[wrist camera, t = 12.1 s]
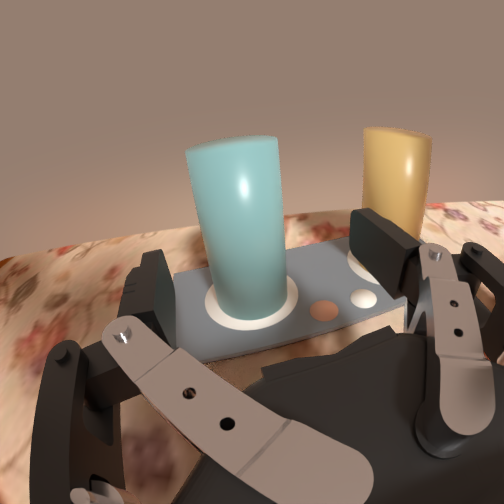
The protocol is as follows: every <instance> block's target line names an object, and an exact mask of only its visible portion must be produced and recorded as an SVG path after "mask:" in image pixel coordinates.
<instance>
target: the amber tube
mask: <svg viewBox="0 0 504 504" xmlns="http://www.w3.org/2000/svg"><path fill="white" fill-rule="evenodd" d="M431 149H432V137H431V136H429V135H426V134H423V133H420V132H416V131H411V130H406V129H400V128H391V127H366V128H364V170H363V172H364V173H363V196H362V197H363V198H362V208H370V209H372V210H373V211H375V212H376V213H378V214H379V215H380V216H382V217H383V218H386V219H388V220H391V221H392V222H393V223H395V224H396V225H397V226H398V227H400V228H401V229H403V230H404V232H407V233H408V234H409V235H411V236H412V237H413V238H415V239H416V240H417V241H419V238H420V234H421V228H422V223H423V217H424V211H425V205H426V197H427V191H428V182H429V173H430V163H431ZM358 263H359V264H360V266H361V267H362V268H363V269H364V270H365V271H367V270H366V269H365V267H364V266H363V265H362V264H361V263H360V262H359V261H358ZM367 272H368V271H367ZM368 273H369V272H368Z"/></svg>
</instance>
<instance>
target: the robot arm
mask: <svg viewBox="0 0 504 504" xmlns="http://www.w3.org/2000/svg"><path fill="white" fill-rule="evenodd" d="M349 247H350V251H351V253H352V255H353V256H354V257H355V258H356V259H357V260H358V261H359V262H360V263H361V264H362V265H363V266H364V267H365V269H366V270H367V271H368V272H369V273H370V274H371V275H372V276H373V277H374V278H375V279H376V280H377V282H378V283H379V284H380V285H381V286H382V287H383V288H384V289H385V290H386V292H387V293H388V294H389V295H390V296H391V297H392V298H393V299H394V300H396V299H398V298H401V297H403V296H405V297H406V301H405V304H404V333H397V334H396V333H395V332H394V331H393V329H392V328H391V327H390V325H389V326H386V327H384V328H382V329H379V330H377V331H374V332H372V333H369V334H366V335H364V336H362V337H360V338H359V339H357V340H356V341H355V342H353V343H352V344H350V345H349V346H347V347H346V348H344V349H343V350H341V351H339V352H338V353H336V354H333V355H324V356H315V357H304V358H295V359H292V360H288V361H285V362H281V363H277V364H274V365H270V366H266V367H262V368H261V370H262V376H263V378H262V379H260V380H258V381H256V382H255V383H253V384H252V385H250V386H249V387H247V388H246V389H245V390H244V391H242V392H241V391H240V390H238V389H237V388H235V387H234V386H232V385H231V384H229V383H228V382H227V381H225V380H224V379H222V378H221V377H220V376H218V375H217V374H215V373H214V372H213V371H211V370H210V369H209V368H207V367H206V366H205V365H203V364H202V363H201V362H199V361H198V360H197V359H195V358H194V357H193V356H191V355H190V354H189V353H188V352H186V351H185V350H184V349H182V348H180V347H177V345H176V296H175V288H174V284H173V281H172V278H171V275H170V272H169V269H168V266H167V263H166V260H165V257H164V254H163V251H162V250H161V249H159V250H154V251H150V252H146V253H143V255H142V259H141V264H140V267H135V268H133V269H132V270H131V272H130V273H129V274H128V275H127V277H126V281H125V285H124V286H125V287H124V289H123V295H122V297H121V302H120V306H119V311H118V315H117V319H115V320H113V321H112V322H110V323H109V324H108V325H107V326H106V327H105V329H104V331H103V333H102V340H101V341H99V342H96V343H94V344H92V345H90V346H87V347H85V348H83V349H81V347H80V346H79V345H78V343H77V342H75V341H73V340H65V341H62V342H60V343H58V344H57V345H56V346H54V347H53V348H52V350H51V351H50V352H49V354H48V356H47V359H46V363H45V367H44V371H43V376H42V380H41V384H40V389H39V394H38V400H37V405H36V411H35V418H34V425H33V433H32V442H31V454H30V477H29V490H30V504H141V502H140V501H139V499H138V498H137V497H136V496H135V495H133V494H132V493H130V492H128V491H126V488H125V480H124V471H123V460H122V447H121V426H120V402H123V401H125V400H127V399H130V398H132V397H135V396H137V395H139V394H141V395H142V396H143V397H144V398H145V399H146V400H147V401H148V402H149V404H150V405H151V406H152V407H153V408H154V409H155V410H156V411H157V412H158V413H159V414H160V415H161V416H162V417H163V418H164V419H165V420H166V421H167V422H168V423H169V424H170V425H171V426H172V427H173V428H174V429H175V430H176V431H177V432H178V433H179V434H180V435H181V436H182V437H183V438H184V439H185V440H186V441H187V442H188V443H189V444H190V445H192V446H193V447H194V448H195V449H196V450H197V451H198V452H200V453H201V454H202V455H201V457H200V459H199V460H198V462H197V464H196V465H195V467H194V468H193V470H192V472H191V473H190V475H189V477H188V478H187V480H186V481H185V483H184V484H183V486H182V488H181V489H180V491H179V492H178V494H177V495H176V497H175V498H174V500H173V501H172V503H171V504H504V263H502V262H501V261H500V260H499V259H498V258H497V257H495V256H494V255H493V254H492V253H491V252H489V251H488V250H487V249H486V248H484V247H483V246H481V245H479V244H477V243H473V242H467V243H465V244H464V245H463V247H462V251H461V254H451V253H450V252H449V251H448V250H447V249H446V248H444V247H443V246H441V245H438V244H434V243H425V244H421V243H420V242H419V241H417V240H416V239H415V238H413V237H412V236H411V235H409V234H408V233H407V232H404V230H403V229H401V228H400V227H398V226H397V225H396V224H395V223H393V222H392V221H391V220H388V219H386V218H383V217H382V216H380V215H379V214H378V213H376V212H375V211H373V210H372V209H370V208H362V209H357V210H353V211H352V213H351V218H350V235H349ZM481 282H482V283H483V284H484V285H485V286H486V287H487V288H488V289H489V290H490V291H491V292H492V293H493V294H494V296H495V299H496V304H495V307H494V309H493V311H492V313H491V312H490V311H489V310H488V309H487V308H486V306H485V305H484V304H483V303H482V302H481V301H480V300H479V299H478V298H477V297H476V293H477V291H478V289H479V286H480V284H481ZM483 351H484V352H485V353H486V355H487V356H488V357H489V359H490V360H491V361H489V360H488V359H486V358H485V357H484V353H483Z"/></svg>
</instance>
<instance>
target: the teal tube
mask: <svg viewBox="0 0 504 504" xmlns="http://www.w3.org/2000/svg"><path fill="white" fill-rule="evenodd" d="M185 153H186V159H187V165H188V170H189V175H190V180H191V185H192V190H193V195H194V200H195V205H196V210H197V215H198V219H199V224H200V229H201V233H202V238H203V242H204V246H205V251H206V255H207V259H208V264H209V268H210V272H211V276H212V280H213V284H214V289H215V293H216V297H217V301H218V304H219V307H220V309H221V310H222V311H223V312H224V313H225V314H227V315H228V316H230V317H232V318H235V319H239V320H258V319H263V318H266V317H268V316H271V315H273V314H274V313H276V312H277V311H279V310H280V309H281V308H282V307H283V306H284V304H285V302H286V300H287V296H288V292H287V269H286V250H285V232H284V217H283V202H282V188H281V177H280V176H281V175H280V163H279V151H278V140H277V138H276V137H273V136H265V135H250V136H237V137H229V138H223V139H218V140H213V141H209V142H205V143H202V144H198V145H196V146H193V147H191V148H189V149H187V150H186V151H185Z"/></svg>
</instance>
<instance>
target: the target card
mask: <svg viewBox="0 0 504 504" xmlns="http://www.w3.org/2000/svg"><path fill="white" fill-rule="evenodd" d="M419 242H420V243H421V244H425V242H424V241H423V240H421V239H420V238H419ZM286 269H287V292H288V296H287V300H286V302H285V304H284V306H283V307H282V308H281V309H280V310H279V311H277V312H276V313H274V314H273V315H271V316H268V317H266V318H263V319H258V320H239V319H235V318H232V317H230V316H228V315H227V314H225V313H224V312H223V311H222V310H221V309H220V307H219V304H218V301H217V297H216V293H215V289H214V284H213V280H212V276H211V272H210V268H209V266H208V267H204V268H199V269H194V270H190V271H185V272H180V273H175V274H174V282H173V284H174V288H175V296H176V345H177V347H180V348H182V349H184V350H185V351H186V352H188V353H189V354H190V355H191V356H193V357H194V358H195V359H197V360H198V361H199V362H201V363H202V364H203V363H209V362H214V361H219V360H224V359H228V358H233V357H238V356H242V355H247V354H251V353H255V352H259V351H263V350H267V349H271V348H275V347H279V346H283V345H287V344H290V343H294V342H297V341H301V340H304V339H308V338H311V337H315V336H318V335H321V334H324V333H328V332H331V331H334V330H337V329H340V328H343V327H346V326H349V325H352V324H355V323H358V322H361V321H364V320H366V319H369V318H372V317H375V316H377V315H380V314H383V313H385V312H388V311H391V310H393V309H396V308H398V307H401V306H403V305H404V304H405V301H406V297H405V296H403V297H401V298H398V299H396V300H394V299H393V298H392V297H391V296H390V295H389V294H388V293H387V292H386V290H385V289H384V288H383V287H382V286H381V285H380V284H379V283H378V282H377V280H376V279H375V278H374V277H373V276H372V275H371V274H370V273H368V272H367V271H365V270H364V269H363V268H362V267H361V266H360V264H359V263H358V260H357V259H356V258H355V257H354V256H353V255H352V253H351V251H350V247H349V236H347V237H343V238H338V239H334V240H329V241H325V242H320V243H315V244H311V245H306V246H302V247H297V248H292V249H288V250H286Z"/></svg>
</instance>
